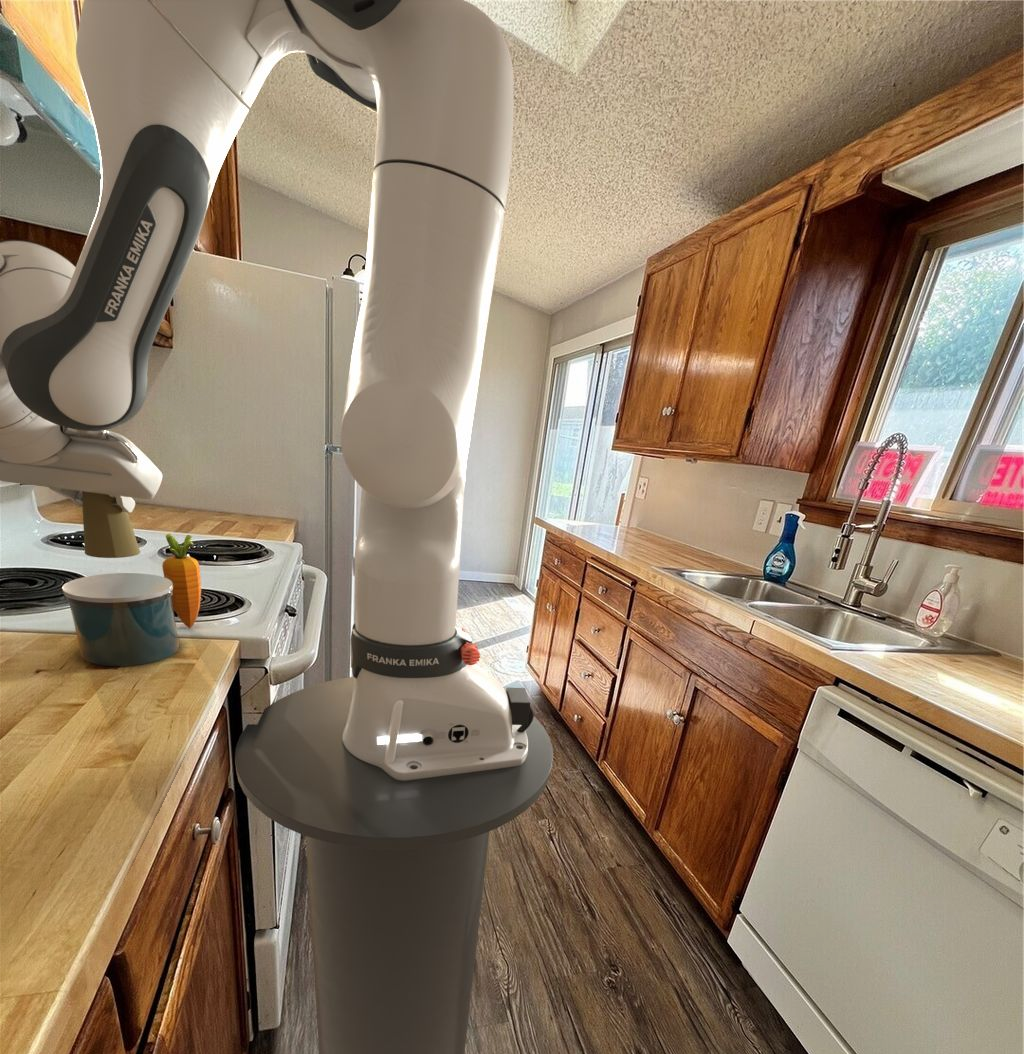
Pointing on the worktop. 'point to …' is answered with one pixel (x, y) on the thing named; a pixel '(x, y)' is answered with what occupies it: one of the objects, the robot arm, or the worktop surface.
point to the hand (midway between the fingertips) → (107, 505)
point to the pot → (123, 618)
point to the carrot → (183, 580)
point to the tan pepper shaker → (106, 528)
